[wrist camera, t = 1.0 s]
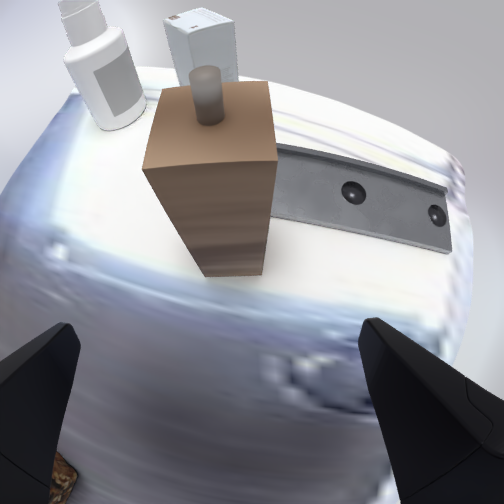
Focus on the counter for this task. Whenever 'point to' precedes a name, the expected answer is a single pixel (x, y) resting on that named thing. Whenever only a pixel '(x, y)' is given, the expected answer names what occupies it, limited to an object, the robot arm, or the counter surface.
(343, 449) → the counter surface
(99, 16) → the spray bottle
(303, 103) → the counter surface
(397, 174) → the flange strip
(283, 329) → the counter surface
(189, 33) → the skincare box
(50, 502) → the bread
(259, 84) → the post
